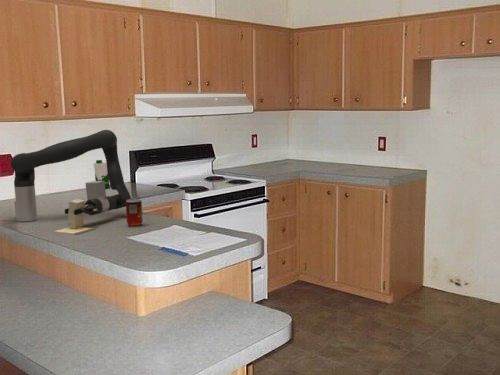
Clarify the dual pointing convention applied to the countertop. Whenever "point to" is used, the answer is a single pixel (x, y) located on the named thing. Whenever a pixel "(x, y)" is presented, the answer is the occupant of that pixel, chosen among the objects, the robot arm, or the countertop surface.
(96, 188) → the skincare box
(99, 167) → the milk carton
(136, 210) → the soda can
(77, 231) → the notepad
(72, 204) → the skincare box
